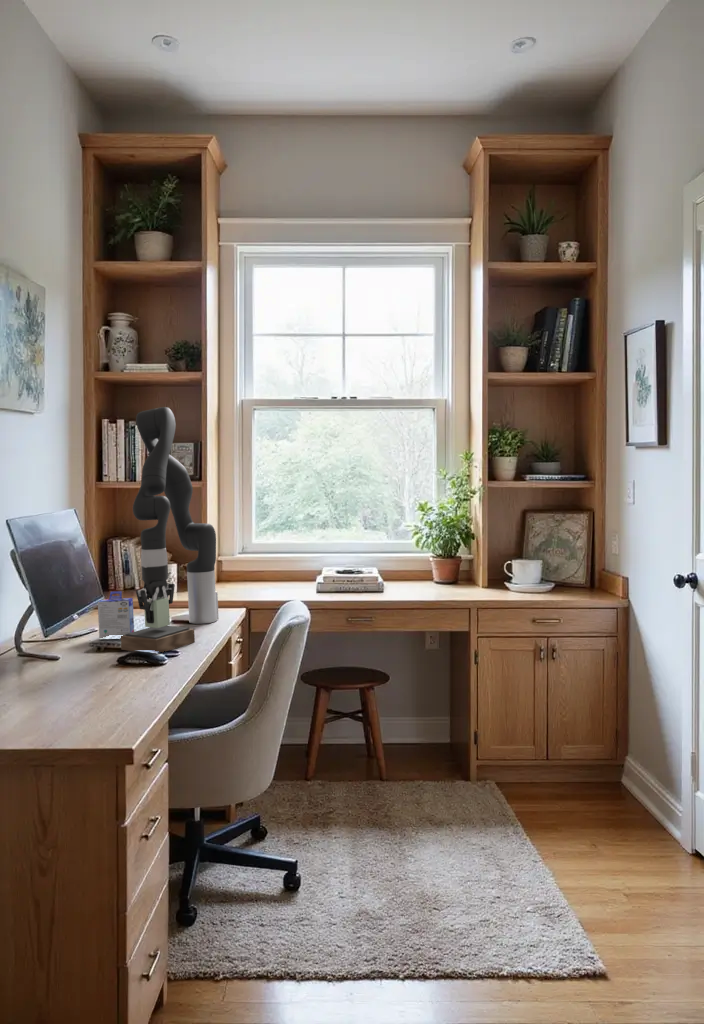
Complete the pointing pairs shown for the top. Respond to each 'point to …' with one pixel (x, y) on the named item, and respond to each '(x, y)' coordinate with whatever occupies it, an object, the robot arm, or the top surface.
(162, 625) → the sage block
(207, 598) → the robot arm
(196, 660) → the top surface
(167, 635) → the walnut base
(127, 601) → the ink cartridge box
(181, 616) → the top surface
